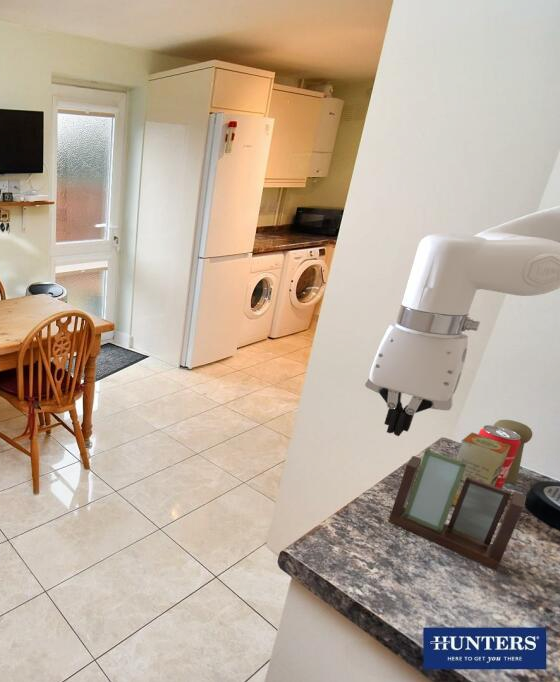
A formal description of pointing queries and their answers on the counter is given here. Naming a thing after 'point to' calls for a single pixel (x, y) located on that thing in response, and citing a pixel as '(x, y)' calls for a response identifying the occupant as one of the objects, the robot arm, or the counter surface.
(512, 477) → the cork
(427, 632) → the counter surface
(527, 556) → the counter surface
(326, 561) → the counter surface
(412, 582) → the counter surface
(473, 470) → the shoe polish box
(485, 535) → the window frame
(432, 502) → the window pane
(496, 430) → the beverage can
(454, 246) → the robot arm
